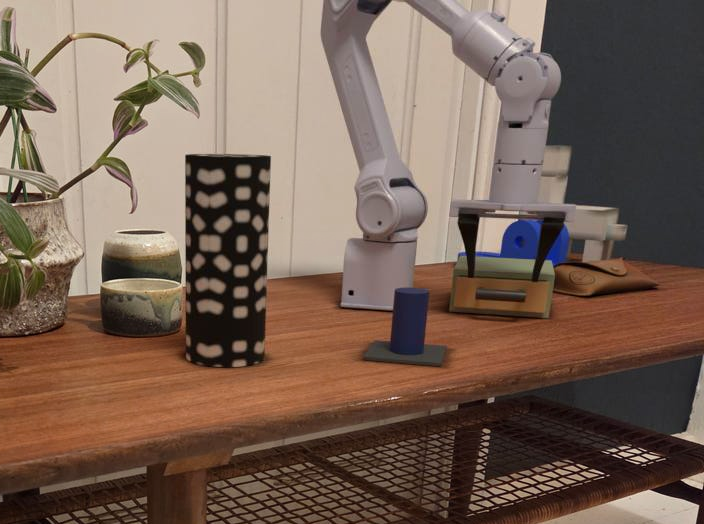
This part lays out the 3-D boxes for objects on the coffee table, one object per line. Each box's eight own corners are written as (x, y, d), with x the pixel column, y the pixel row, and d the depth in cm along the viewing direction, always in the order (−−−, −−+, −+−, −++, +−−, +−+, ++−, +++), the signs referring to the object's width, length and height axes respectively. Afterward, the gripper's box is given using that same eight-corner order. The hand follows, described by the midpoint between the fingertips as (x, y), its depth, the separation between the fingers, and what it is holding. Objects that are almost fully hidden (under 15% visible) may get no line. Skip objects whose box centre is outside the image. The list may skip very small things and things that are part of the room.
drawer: (545, 319, 109) (550, 288, 108) (451, 312, 112) (454, 282, 111) (542, 296, 124) (546, 269, 123) (459, 291, 127) (462, 264, 126)
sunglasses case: (590, 294, 127) (577, 251, 128) (552, 312, 133) (539, 270, 134) (664, 285, 136) (652, 244, 137) (625, 302, 142) (613, 263, 143)
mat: (363, 360, 93) (363, 356, 92) (374, 343, 100) (374, 340, 100) (440, 366, 90) (441, 363, 90) (446, 349, 98) (446, 345, 97)
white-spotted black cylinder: (175, 351, 95) (174, 153, 88) (246, 345, 98) (251, 154, 90) (200, 370, 88) (201, 157, 80) (276, 363, 91) (284, 157, 83)
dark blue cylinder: (387, 353, 94) (392, 292, 91) (391, 346, 97) (396, 286, 94) (421, 356, 93) (427, 294, 90) (425, 348, 96) (431, 288, 94)
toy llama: (609, 272, 152) (631, 148, 144) (513, 261, 162) (528, 145, 155) (624, 267, 157) (645, 147, 150) (529, 257, 168) (545, 145, 160)
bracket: (563, 275, 147) (572, 219, 144) (532, 279, 143) (540, 222, 140) (477, 262, 161) (483, 210, 158) (446, 265, 156) (452, 212, 153)
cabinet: (548, 318, 114) (555, 274, 112) (449, 311, 118) (453, 269, 115) (545, 300, 126) (551, 260, 124) (455, 294, 130) (459, 255, 127)
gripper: (453, 163, 104) (440, 280, 109) (584, 167, 100) (565, 288, 105) (457, 161, 110) (445, 271, 115) (580, 164, 106) (562, 278, 111)
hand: (502, 279), depth 110 cm, fingers open, 7 cm apart
